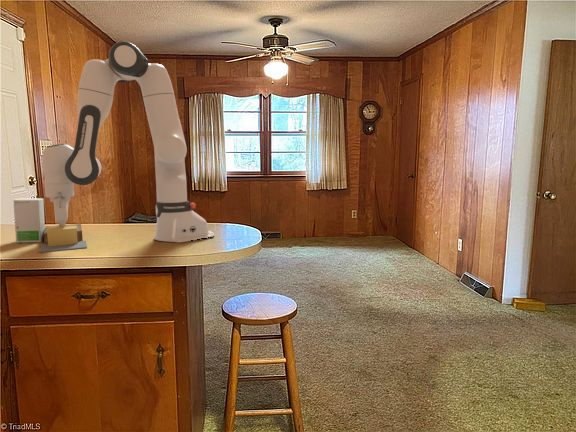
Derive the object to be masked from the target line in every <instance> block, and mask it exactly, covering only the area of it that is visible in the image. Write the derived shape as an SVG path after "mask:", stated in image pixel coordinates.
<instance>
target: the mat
mask: <svg viewBox="0 0 576 432" xmlns="http://www.w3.org/2000/svg"><path fill="white" fill-rule="evenodd" d="M82 249H88V245H87V241H86V240H83V241H78V244H68V245H57V246H48V244H45V243H44V244H40V249H39V253H41V254H42V253H51V252H61V251H73V250H82Z"/></svg>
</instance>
